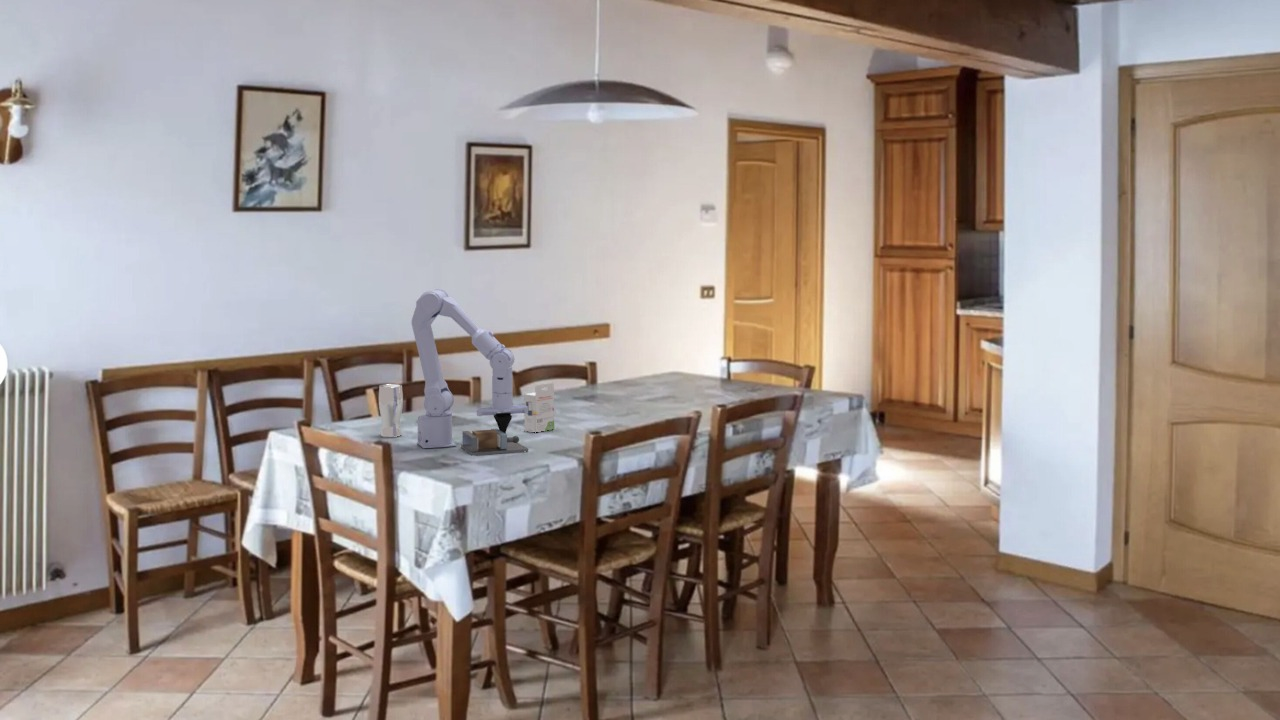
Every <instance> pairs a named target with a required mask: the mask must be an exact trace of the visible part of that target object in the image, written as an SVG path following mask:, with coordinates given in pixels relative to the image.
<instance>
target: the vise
mask: <svg viewBox="0 0 1280 720" xmlns="http://www.w3.org/2000/svg"><path fill="white" fill-rule="evenodd" d="M461 447H462V448H461ZM460 448H461V449H462V450H464V451H465V450H466V451H465V452H467V454H469V453H470V454H469V455H471V456H472V455H476V456H485V455H487V456H488V455H501V454H502V453H504V454H513V453H512V452H518V453H525V452H524V451H528V452H529V448H528V447H526V446H525V445H522V444H521V443H519V442H518V443H514V442H508V443H507V449H500V448H499V447H497V448H490V449H478V437H476V436H475V435H473V434H472V432H470V431H469V430H462V444H460Z"/></svg>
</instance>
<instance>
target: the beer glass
mask: <svg viewBox="0 0 1280 720" xmlns="http://www.w3.org/2000/svg"><path fill="white" fill-rule="evenodd" d="M378 388H379V389H378V407H379V413H380V419H381V431H380V437H381V436H383V437H382V438H386V437H394V438H398V437H397V436H400V435H401V436H402V428H401V418H402V413H403V412H402V411H403V407H404V393H403V385H402V384H397V383H386V384H385V383H384V384H380V385H379V386H378ZM401 436H400V437H401Z"/></svg>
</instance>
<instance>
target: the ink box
mask: <svg viewBox="0 0 1280 720" xmlns="http://www.w3.org/2000/svg"><path fill="white" fill-rule="evenodd" d="M534 388H535V389H534V390H535V392H534V391H533V392H529V393H524V394H523V395H524V396H523V397H524V400H523V402H524V405H523V406H527V407H528V413H526V414H525V413H523V415H524V432H526V431H529V432H528V433H531V432H535V433H534V434H537V433H536V432H539V433H542V432H541V431H544V432H547V431H546V430H549V431H553V430H552V429H554V430H555V390H554V389H555V387H554V383H553V382H549V383H548V382H547V383H542V384H536V385H535V387H534ZM543 388H547V389H543Z"/></svg>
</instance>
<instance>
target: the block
mask: <svg viewBox="0 0 1280 720" xmlns="http://www.w3.org/2000/svg"><path fill="white" fill-rule="evenodd" d="M471 433H472V434H473V435H475V436H476V437H478V449H490V448H497V432H496V431H494V430H491V429H483V430H481V429H480V430H472V431H471Z"/></svg>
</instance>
